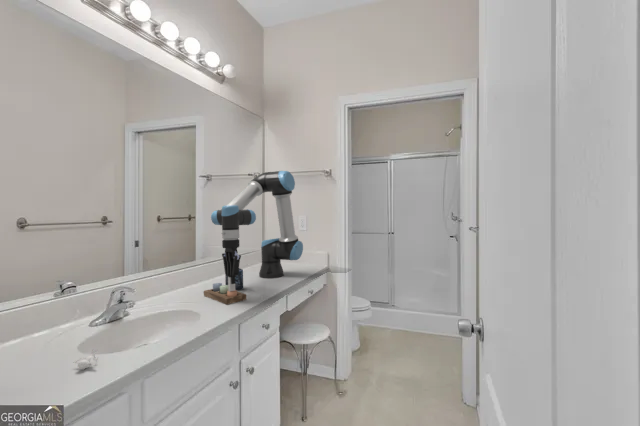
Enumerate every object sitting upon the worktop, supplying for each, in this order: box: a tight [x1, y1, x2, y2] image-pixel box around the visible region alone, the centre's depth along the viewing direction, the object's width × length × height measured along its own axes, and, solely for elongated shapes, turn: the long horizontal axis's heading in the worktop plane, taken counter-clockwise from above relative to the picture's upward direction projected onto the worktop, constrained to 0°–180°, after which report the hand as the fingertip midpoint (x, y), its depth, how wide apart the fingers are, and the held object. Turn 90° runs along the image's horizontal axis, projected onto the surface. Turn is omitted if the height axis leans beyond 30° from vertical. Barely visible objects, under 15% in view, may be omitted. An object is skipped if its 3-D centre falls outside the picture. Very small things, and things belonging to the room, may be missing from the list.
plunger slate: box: [212, 282, 223, 292], centre depth 154 cm, size 4×4×4 cm
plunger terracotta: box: [227, 290, 238, 297], centre depth 144 cm, size 4×4×4 cm
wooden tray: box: [203, 288, 247, 305], centre depth 149 cm, size 10×22×2 cm, turn 45°
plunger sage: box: [220, 284, 228, 294], centre depth 149 cm, size 4×4×4 cm
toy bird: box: [72, 349, 99, 370], centre depth 83 cm, size 8×5×5 cm, turn 78°
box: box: [224, 267, 244, 291], centre depth 164 cm, size 8×6×11 cm
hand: (231, 290), depth 144 cm, fingers closed
